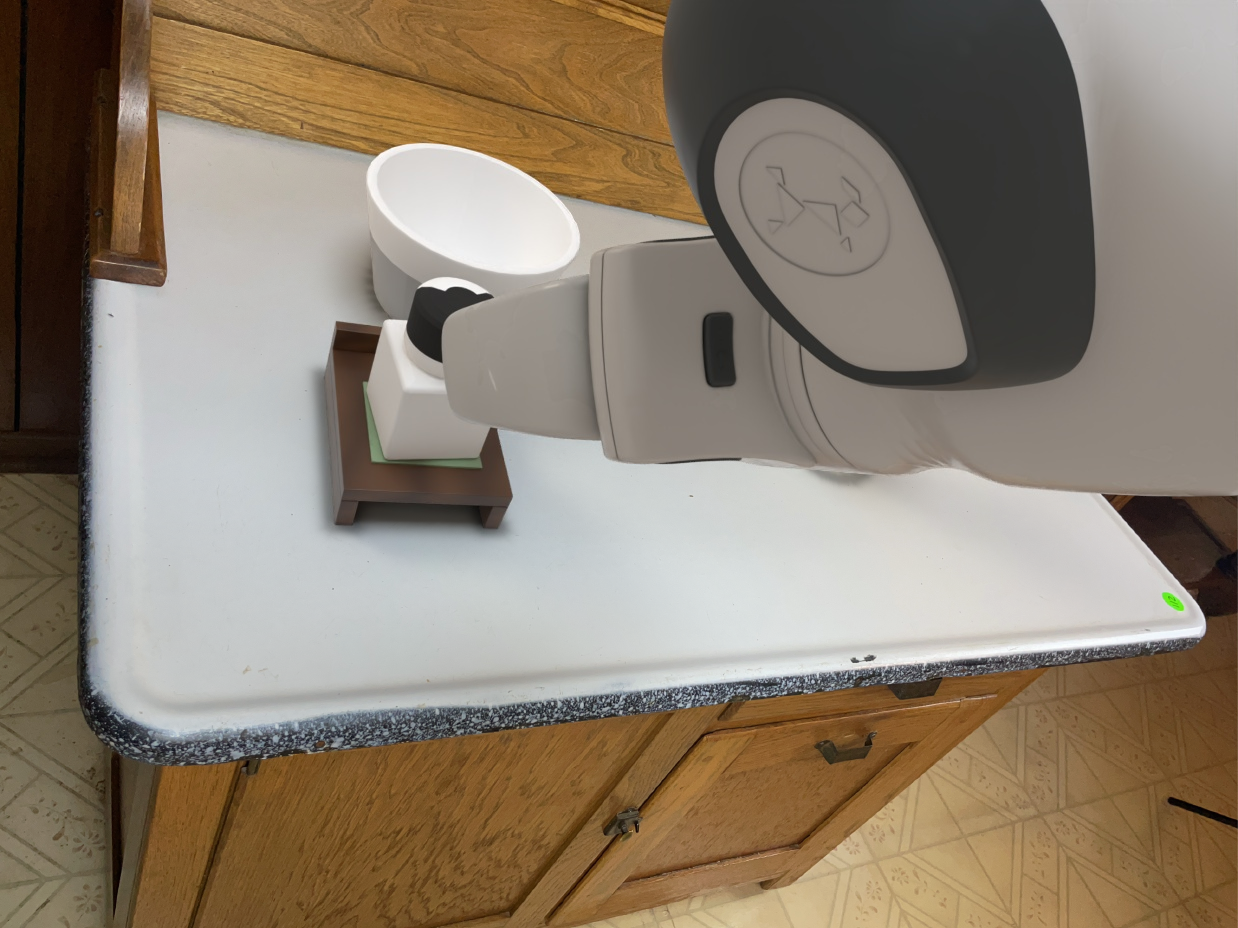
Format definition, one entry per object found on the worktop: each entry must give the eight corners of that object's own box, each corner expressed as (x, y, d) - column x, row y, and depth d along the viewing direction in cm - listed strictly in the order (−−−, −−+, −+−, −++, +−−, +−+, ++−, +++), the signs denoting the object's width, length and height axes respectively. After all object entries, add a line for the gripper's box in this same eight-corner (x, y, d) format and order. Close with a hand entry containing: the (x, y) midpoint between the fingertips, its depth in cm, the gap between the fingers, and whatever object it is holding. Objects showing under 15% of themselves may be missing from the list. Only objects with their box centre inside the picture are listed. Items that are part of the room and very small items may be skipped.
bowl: (330, 338, 72) (352, 232, 65) (357, 217, 85) (378, 118, 78) (547, 390, 79) (588, 298, 72) (541, 270, 92) (575, 182, 85)
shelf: (334, 525, 60) (348, 469, 56) (323, 377, 69) (335, 320, 65) (498, 529, 65) (521, 479, 61) (468, 392, 74) (487, 340, 70)
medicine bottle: (479, 460, 63) (529, 338, 56) (383, 462, 60) (422, 332, 52) (456, 392, 67) (499, 269, 60) (364, 390, 64) (397, 259, 56)
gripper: (979, 252, 35) (738, 286, 46) (570, 242, 23) (374, 292, 34) (981, 405, 36) (743, 403, 47) (587, 474, 24) (390, 449, 35)
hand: (585, 356), depth 40 cm, fingers open, 8 cm apart
